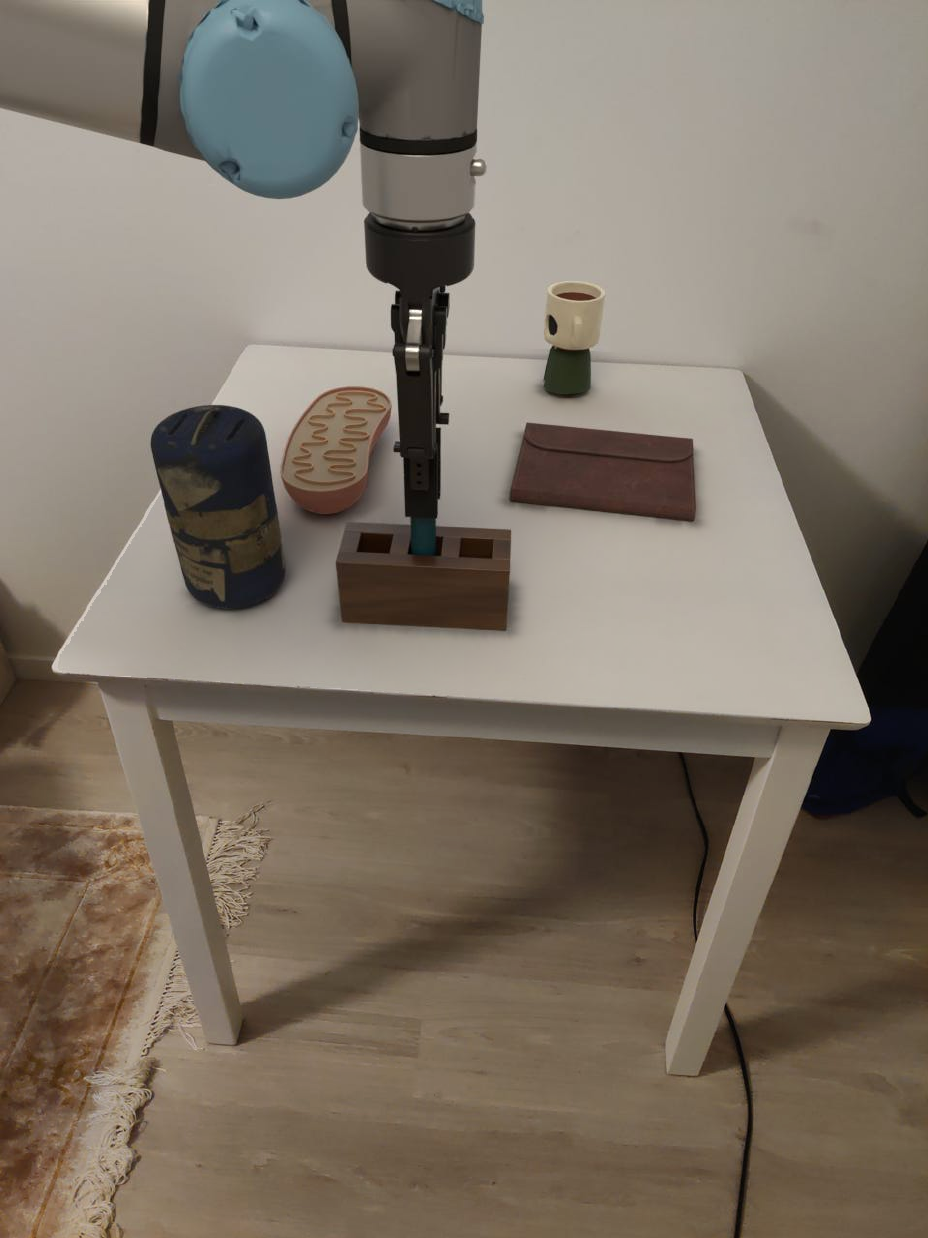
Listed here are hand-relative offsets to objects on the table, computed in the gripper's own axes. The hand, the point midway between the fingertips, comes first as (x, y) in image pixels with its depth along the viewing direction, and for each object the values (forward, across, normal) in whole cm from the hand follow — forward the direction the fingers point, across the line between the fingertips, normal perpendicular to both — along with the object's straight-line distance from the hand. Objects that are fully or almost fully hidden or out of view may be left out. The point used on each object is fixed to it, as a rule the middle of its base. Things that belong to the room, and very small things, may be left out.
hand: (423, 505), depth 73 cm
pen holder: (+11, 0, 0) cm, 11 cm away
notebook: (+11, +24, -18) cm, 32 cm away
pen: (+9, 0, 0) cm, 9 cm away
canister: (+12, +2, +18) cm, 22 cm away
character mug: (+11, +45, -15) cm, 49 cm away
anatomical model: (+11, +22, +12) cm, 28 cm away
